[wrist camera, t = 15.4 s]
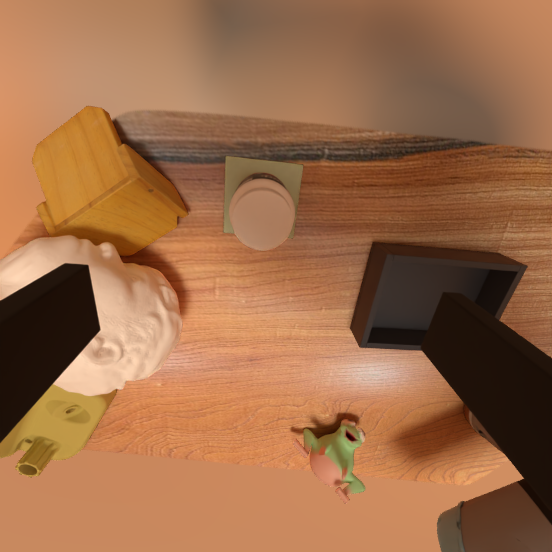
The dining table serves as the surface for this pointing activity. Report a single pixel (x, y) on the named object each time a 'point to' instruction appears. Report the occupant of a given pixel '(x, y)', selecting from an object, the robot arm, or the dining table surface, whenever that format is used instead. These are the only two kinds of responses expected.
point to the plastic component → (55, 428)
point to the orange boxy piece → (102, 186)
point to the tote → (425, 290)
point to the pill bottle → (262, 212)
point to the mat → (244, 167)
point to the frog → (335, 457)
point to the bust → (106, 311)
